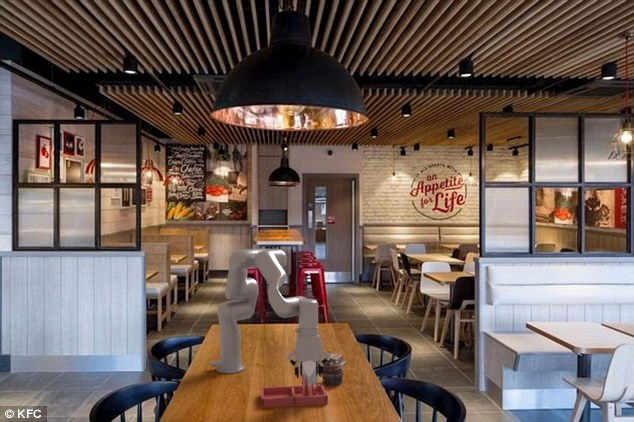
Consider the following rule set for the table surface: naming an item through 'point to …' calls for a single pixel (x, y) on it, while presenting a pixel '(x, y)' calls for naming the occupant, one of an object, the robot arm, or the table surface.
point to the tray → (291, 396)
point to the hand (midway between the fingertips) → (308, 376)
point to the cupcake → (332, 373)
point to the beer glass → (308, 377)
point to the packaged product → (337, 358)
